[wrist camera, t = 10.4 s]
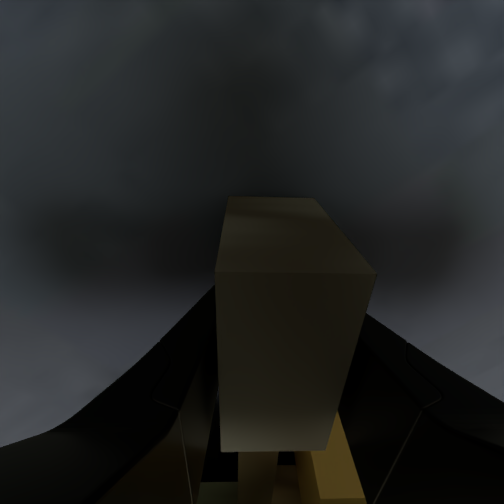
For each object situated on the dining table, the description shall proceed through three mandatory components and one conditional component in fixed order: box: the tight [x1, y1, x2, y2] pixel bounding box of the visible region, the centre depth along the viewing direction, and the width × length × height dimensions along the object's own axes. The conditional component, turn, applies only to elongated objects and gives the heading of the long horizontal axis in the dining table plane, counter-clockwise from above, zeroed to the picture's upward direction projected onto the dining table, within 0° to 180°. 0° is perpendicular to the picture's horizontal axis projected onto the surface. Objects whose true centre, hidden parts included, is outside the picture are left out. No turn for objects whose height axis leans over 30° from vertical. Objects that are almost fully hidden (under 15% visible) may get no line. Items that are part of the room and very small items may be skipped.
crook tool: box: [215, 196, 377, 504], centre depth 12 cm, size 8×20×5 cm, turn 178°
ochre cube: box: [294, 411, 367, 504], centre depth 15 cm, size 4×4×4 cm
